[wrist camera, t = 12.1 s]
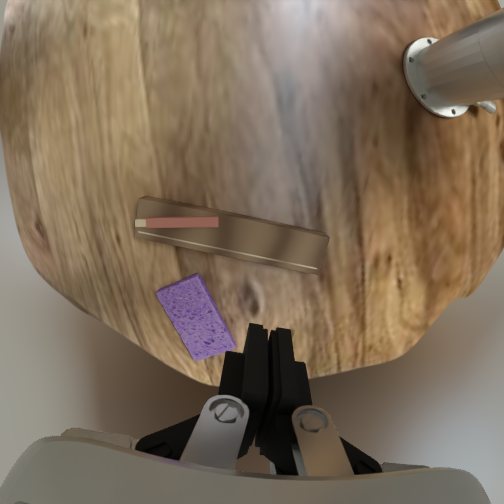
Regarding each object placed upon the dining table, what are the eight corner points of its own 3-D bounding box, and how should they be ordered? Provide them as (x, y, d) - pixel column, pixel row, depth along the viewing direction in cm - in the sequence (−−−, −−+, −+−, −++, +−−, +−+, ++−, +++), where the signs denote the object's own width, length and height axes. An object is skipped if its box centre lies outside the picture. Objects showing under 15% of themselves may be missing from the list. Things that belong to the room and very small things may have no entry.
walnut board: (325, 233, 39) (329, 238, 37) (315, 268, 41) (318, 275, 38) (145, 195, 38) (138, 198, 36) (140, 232, 39) (134, 237, 37)
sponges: (196, 354, 46) (194, 362, 44) (157, 287, 42) (153, 293, 41) (237, 342, 45) (236, 349, 43) (200, 270, 42) (197, 275, 40)
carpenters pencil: (218, 216, 36) (218, 217, 36) (218, 226, 37) (218, 227, 36) (136, 217, 36) (134, 218, 36) (137, 226, 37) (135, 228, 36)
